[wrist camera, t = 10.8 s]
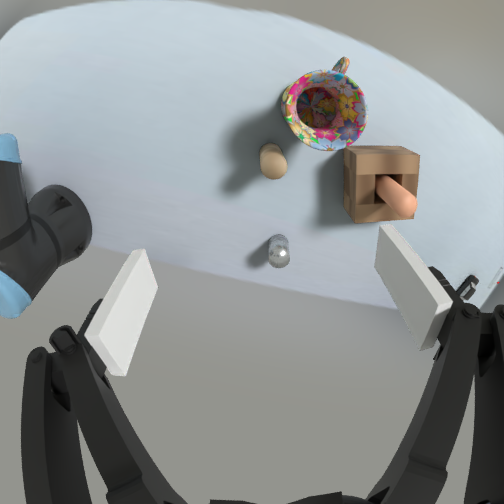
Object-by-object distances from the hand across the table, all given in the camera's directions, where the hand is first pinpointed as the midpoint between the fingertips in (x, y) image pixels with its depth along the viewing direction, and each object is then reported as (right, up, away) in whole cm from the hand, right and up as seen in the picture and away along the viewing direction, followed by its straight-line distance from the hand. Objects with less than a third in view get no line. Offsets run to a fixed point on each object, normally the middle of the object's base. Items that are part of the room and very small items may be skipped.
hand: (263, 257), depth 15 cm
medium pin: (+2, +15, +24) cm, 28 cm away
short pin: (+4, +2, +32) cm, 32 cm away
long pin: (+18, +12, +26) cm, 34 cm away
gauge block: (+18, +12, +26) cm, 34 cm away
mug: (+8, +22, +20) cm, 31 cm away
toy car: (+51, -7, +37) cm, 63 cm away
